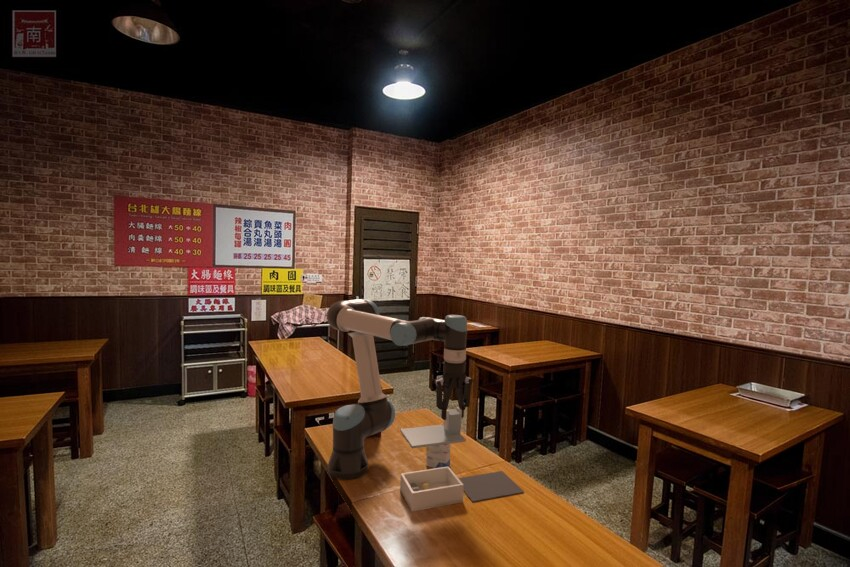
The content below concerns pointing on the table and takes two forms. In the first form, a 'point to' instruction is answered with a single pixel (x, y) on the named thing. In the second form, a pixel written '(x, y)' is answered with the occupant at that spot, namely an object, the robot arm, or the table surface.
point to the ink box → (438, 456)
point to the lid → (435, 433)
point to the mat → (489, 486)
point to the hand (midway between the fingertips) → (452, 427)
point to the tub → (431, 488)
